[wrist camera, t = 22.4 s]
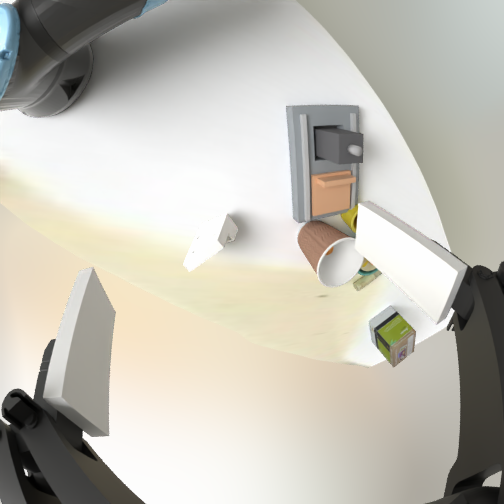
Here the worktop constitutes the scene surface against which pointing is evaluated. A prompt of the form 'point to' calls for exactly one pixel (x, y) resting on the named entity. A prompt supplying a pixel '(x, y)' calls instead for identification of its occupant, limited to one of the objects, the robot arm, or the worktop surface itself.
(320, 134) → the plug
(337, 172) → the shutter
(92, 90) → the worktop surface
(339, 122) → the socket board
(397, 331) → the tea box
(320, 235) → the coffee cup
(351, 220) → the toy juicer set
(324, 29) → the worktop surface
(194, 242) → the white wedge bracket
